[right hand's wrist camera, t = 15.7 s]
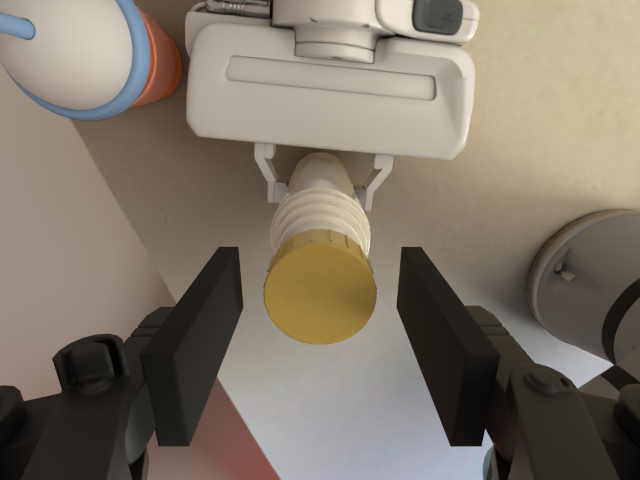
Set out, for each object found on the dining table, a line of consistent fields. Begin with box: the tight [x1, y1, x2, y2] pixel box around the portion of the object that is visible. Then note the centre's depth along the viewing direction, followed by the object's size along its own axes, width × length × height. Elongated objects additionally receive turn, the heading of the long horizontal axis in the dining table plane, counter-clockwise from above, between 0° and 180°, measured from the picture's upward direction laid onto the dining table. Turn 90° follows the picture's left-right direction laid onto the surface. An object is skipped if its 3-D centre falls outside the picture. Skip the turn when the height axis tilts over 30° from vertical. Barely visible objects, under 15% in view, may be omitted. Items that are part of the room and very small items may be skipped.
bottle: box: [270, 152, 370, 257], centre depth 24 cm, size 5×5×23 cm
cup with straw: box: [0, 0, 182, 121], centre depth 23 cm, size 9×9×18 cm
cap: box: [264, 229, 377, 345], centre depth 14 cm, size 4×4×2 cm
